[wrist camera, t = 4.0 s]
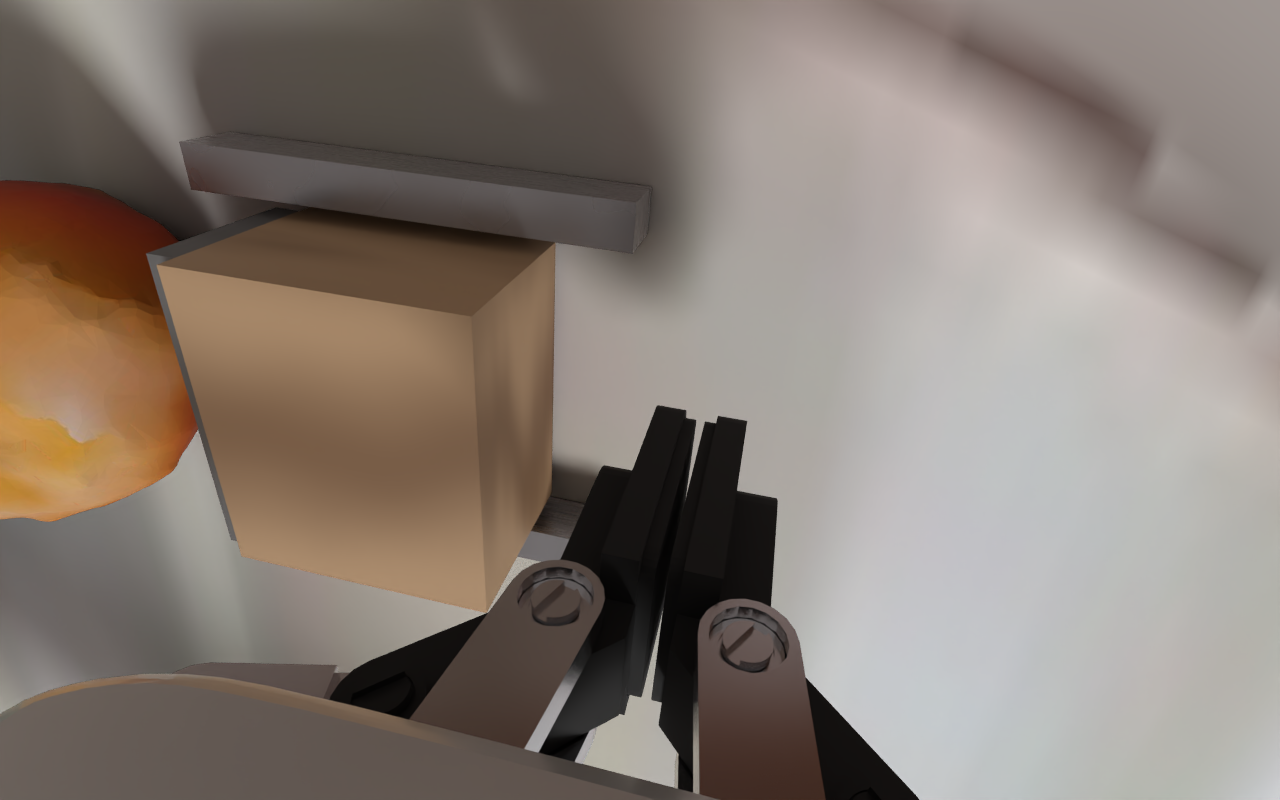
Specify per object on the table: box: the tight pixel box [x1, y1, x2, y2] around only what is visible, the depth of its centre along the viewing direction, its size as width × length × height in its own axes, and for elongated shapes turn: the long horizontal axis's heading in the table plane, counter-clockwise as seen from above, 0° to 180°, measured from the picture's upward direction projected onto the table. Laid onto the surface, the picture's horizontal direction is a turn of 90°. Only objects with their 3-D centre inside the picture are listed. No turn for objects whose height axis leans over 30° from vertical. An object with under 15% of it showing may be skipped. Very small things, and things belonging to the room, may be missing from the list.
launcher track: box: [179, 132, 652, 562], centre depth 17 cm, size 10×10×2 cm
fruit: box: [0, 180, 198, 522], centre depth 16 cm, size 8×8×8 cm
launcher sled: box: [146, 207, 555, 613], centre depth 15 cm, size 7×7×4 cm
